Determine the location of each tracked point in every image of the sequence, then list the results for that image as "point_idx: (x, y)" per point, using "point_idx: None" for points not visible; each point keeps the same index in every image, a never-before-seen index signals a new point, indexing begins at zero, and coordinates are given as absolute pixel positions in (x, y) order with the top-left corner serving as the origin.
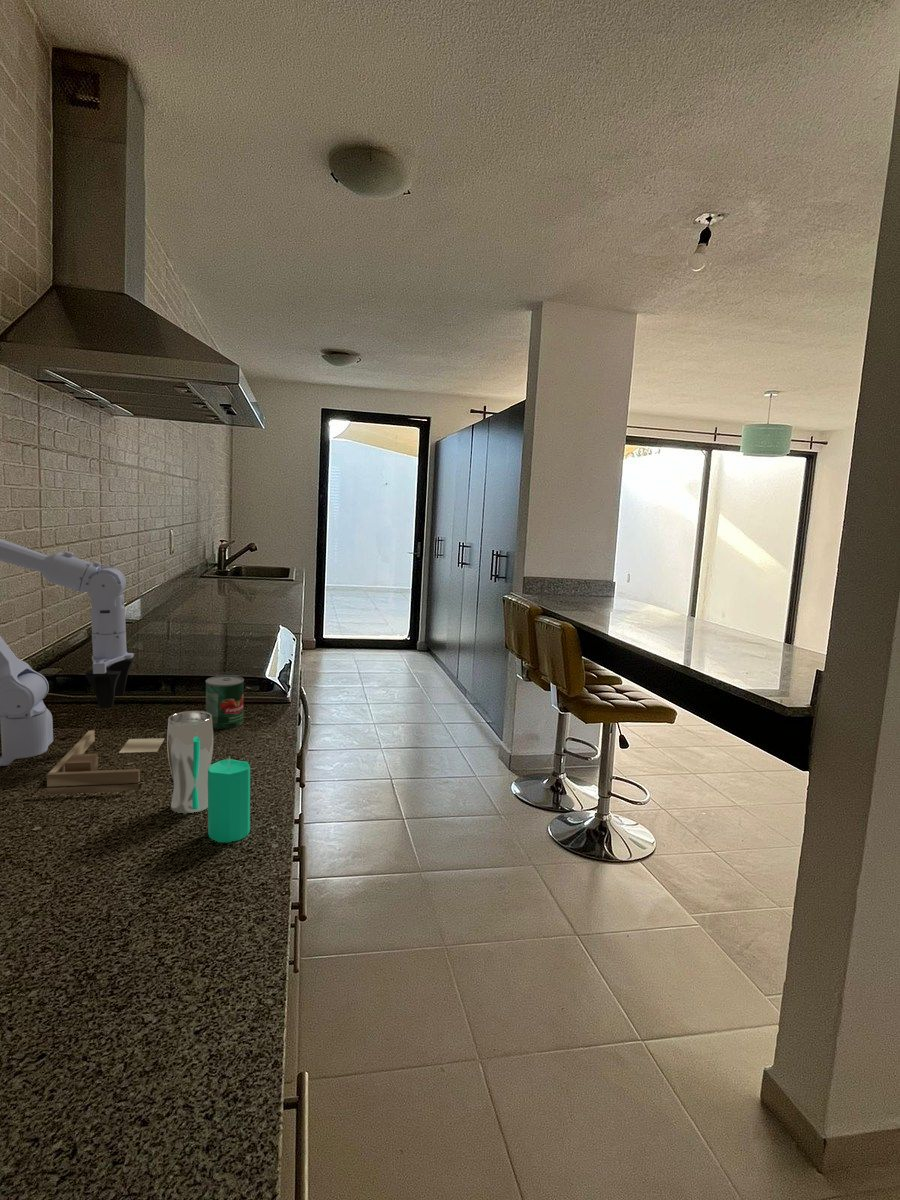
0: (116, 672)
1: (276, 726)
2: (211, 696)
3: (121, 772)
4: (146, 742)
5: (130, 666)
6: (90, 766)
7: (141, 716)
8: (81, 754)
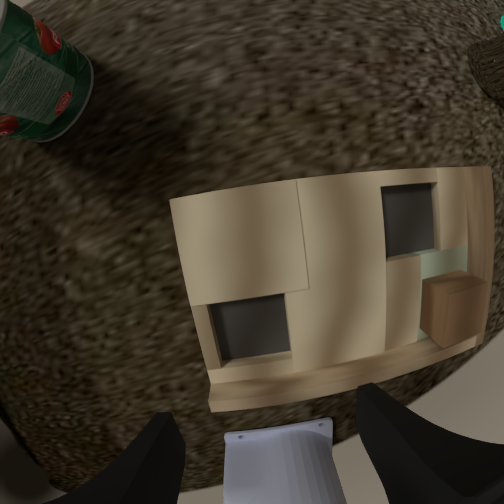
0: (500, 488)
1: (57, 3)
2: (14, 75)
3: (492, 202)
4: (215, 242)
5: (63, 501)
6: (481, 279)
7: (15, 335)
8: (446, 329)
